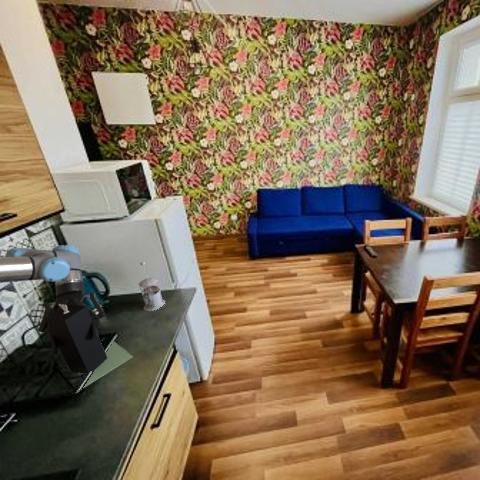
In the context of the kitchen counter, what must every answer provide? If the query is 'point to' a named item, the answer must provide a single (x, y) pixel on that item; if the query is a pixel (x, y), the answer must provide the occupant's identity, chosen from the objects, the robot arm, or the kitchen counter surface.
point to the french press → (151, 293)
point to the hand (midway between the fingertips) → (76, 343)
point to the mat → (110, 362)
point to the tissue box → (76, 338)
